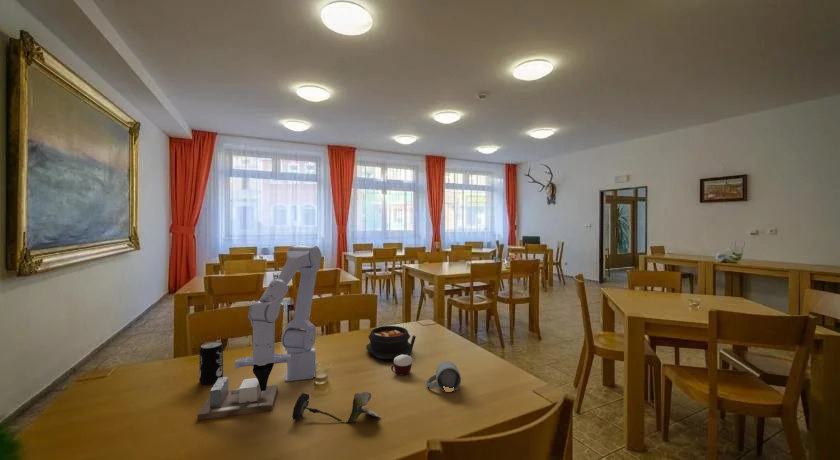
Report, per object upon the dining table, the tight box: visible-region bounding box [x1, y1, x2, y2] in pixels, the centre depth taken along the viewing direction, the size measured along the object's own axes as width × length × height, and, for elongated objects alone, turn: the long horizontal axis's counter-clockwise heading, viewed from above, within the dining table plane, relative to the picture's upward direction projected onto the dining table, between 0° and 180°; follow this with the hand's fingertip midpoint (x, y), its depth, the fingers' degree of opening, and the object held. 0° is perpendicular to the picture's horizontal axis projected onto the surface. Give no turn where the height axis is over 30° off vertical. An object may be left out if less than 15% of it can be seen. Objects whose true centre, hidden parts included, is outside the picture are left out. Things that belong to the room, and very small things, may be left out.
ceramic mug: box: [425, 360, 462, 392], centre depth 108 cm, size 11×8×8 cm
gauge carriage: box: [230, 377, 261, 407], centre depth 95 cm, size 7×9×4 cm
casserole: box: [365, 325, 411, 360], centre depth 138 cm, size 25×19×8 cm
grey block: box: [209, 376, 229, 409], centre depth 95 cm, size 2×8×5 cm, turn 16°
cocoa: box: [390, 335, 417, 376], centre depth 118 cm, size 10×6×12 cm, turn 103°
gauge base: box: [197, 384, 279, 421], centre depth 96 cm, size 18×12×2 cm, turn 106°
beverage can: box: [198, 341, 224, 386], centre depth 110 cm, size 7×7×12 cm
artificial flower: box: [291, 391, 381, 423], centre depth 90 cm, size 9×22×10 cm, turn 84°
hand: (263, 389), depth 98 cm, fingers closed
